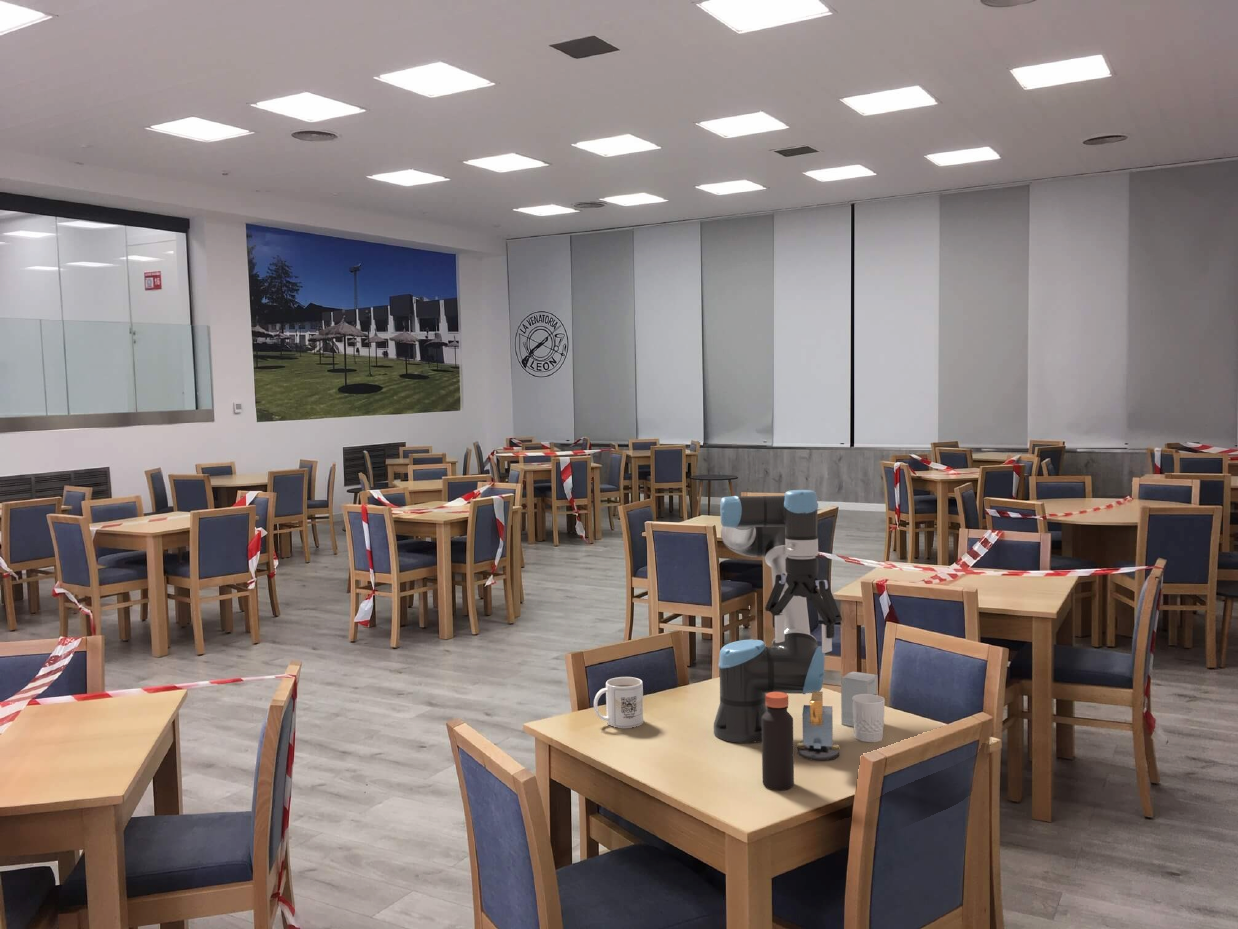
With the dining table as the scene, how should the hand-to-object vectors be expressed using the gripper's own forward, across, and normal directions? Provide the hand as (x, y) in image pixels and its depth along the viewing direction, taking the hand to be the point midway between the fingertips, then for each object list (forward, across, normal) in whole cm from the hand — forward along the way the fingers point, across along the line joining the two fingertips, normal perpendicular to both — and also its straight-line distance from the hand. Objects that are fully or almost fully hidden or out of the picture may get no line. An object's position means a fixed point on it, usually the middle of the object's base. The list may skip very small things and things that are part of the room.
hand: (802, 646), depth 217 cm
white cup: (+27, +3, +23) cm, 35 cm away
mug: (+27, -51, -13) cm, 59 cm away
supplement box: (+27, -5, +31) cm, 41 cm away
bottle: (+27, +6, -17) cm, 32 cm away
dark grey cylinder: (+27, 0, +5) cm, 27 cm away
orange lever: (+24, +2, +3) cm, 24 cm away
